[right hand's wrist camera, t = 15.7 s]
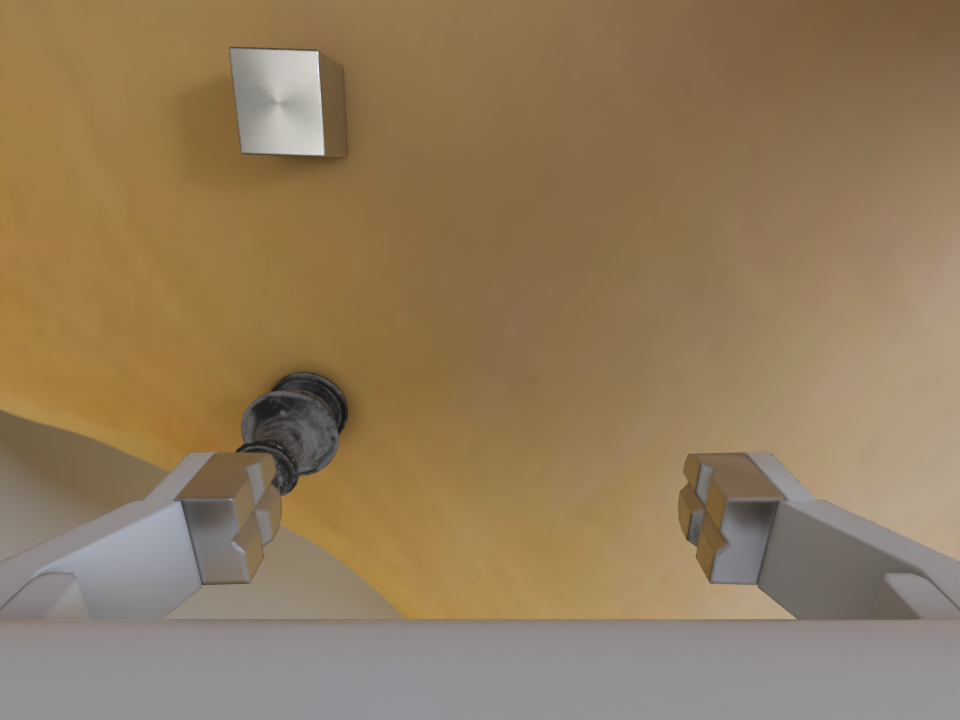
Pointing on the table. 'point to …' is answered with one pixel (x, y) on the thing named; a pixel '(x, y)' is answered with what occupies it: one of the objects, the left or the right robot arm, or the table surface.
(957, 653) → the right robot arm
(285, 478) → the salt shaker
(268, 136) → the block
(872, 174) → the table surface
